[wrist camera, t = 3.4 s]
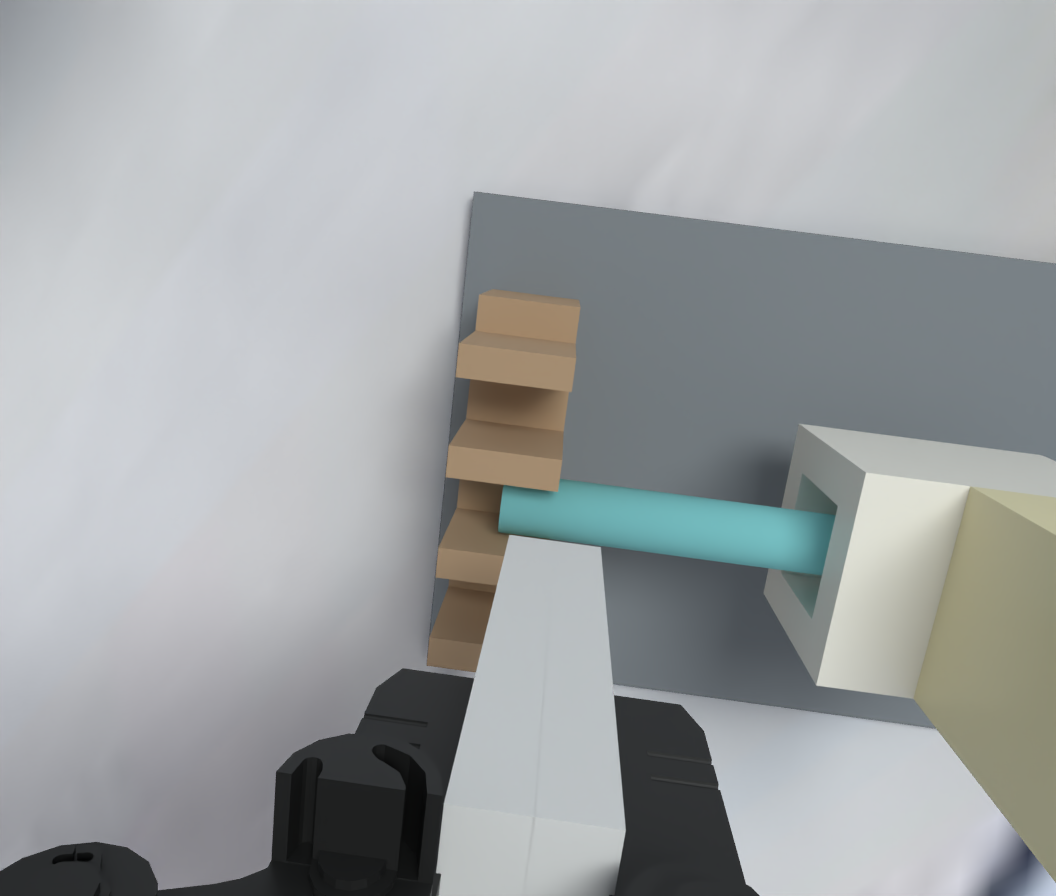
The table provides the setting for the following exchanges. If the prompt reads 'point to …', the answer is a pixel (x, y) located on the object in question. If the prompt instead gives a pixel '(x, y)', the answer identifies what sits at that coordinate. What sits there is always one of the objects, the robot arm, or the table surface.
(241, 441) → the table surface
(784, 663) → the cord rig
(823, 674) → the sliding rod collar
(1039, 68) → the table surface
